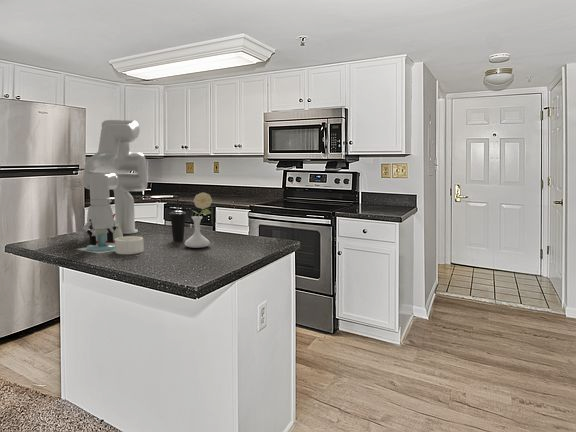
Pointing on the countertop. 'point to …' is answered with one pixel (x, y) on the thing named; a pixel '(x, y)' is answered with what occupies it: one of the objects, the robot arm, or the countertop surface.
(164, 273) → the countertop surface
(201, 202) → the flower in vase
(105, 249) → the lid
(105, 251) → the mat
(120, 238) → the bowl
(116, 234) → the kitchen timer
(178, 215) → the drinking cup
